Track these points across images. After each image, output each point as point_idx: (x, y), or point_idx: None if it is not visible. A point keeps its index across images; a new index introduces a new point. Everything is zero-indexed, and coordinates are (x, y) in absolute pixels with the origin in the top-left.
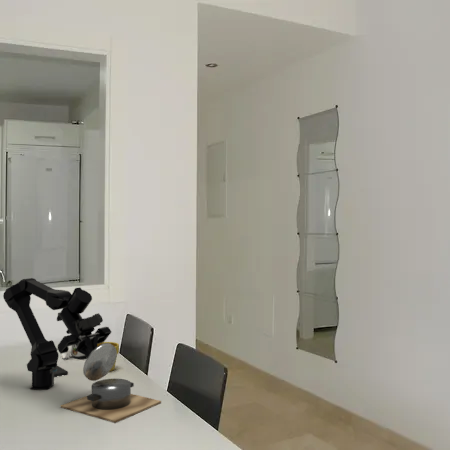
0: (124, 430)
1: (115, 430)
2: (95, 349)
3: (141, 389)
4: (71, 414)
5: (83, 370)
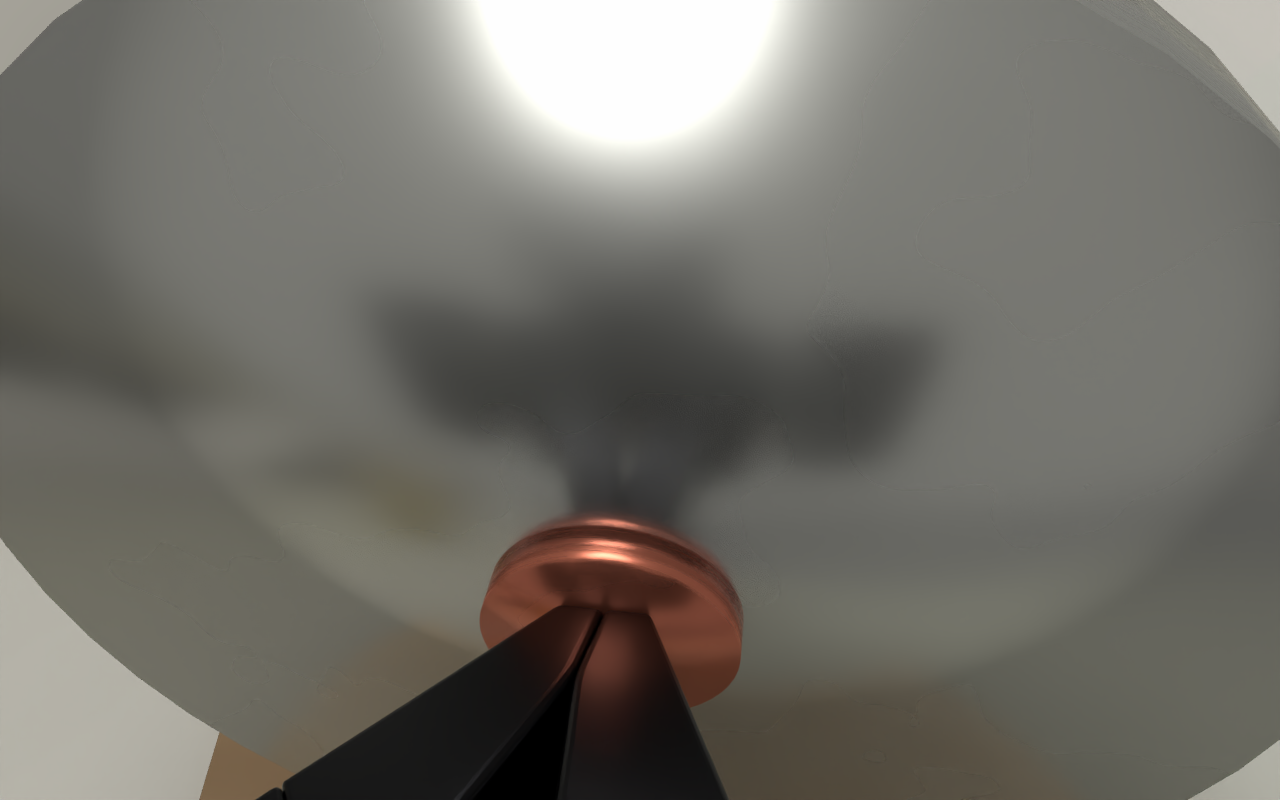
0: (1169, 6)
1: (1226, 59)
2: (1200, 71)
3: (12, 581)
4: (1277, 790)
5: (1223, 770)
